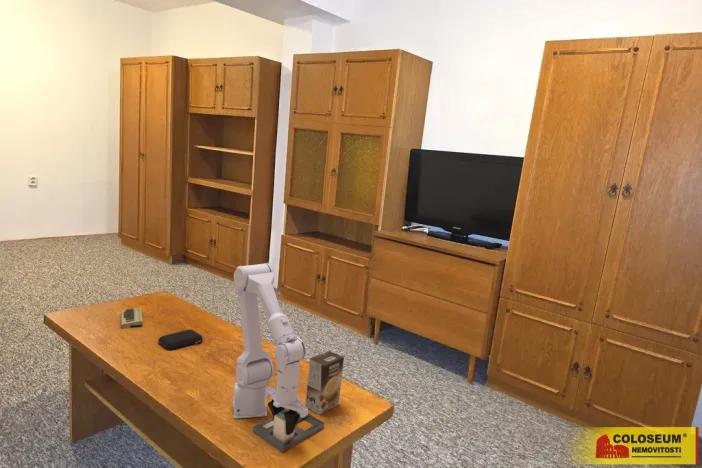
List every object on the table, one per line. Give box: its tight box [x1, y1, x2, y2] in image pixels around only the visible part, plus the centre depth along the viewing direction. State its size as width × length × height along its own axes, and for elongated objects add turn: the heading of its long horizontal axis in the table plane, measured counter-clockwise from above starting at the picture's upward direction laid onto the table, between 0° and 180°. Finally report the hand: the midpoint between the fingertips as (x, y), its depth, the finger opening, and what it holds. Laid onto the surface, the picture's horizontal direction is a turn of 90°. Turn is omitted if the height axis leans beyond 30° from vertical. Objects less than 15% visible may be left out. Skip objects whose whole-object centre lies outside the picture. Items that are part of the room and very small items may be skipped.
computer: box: [120, 307, 144, 330], centre depth 192 cm, size 16×8×3 cm, turn 26°
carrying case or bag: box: [157, 329, 204, 351], centre depth 177 cm, size 11×3×15 cm
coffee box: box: [304, 350, 345, 415], centre depth 143 cm, size 9×6×16 cm
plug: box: [273, 408, 295, 443], centre depth 125 cm, size 4×4×8 cm
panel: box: [252, 408, 325, 453], centre depth 130 cm, size 16×12×2 cm
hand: (284, 429), depth 126 cm, fingers closed on plug, 4 cm apart
